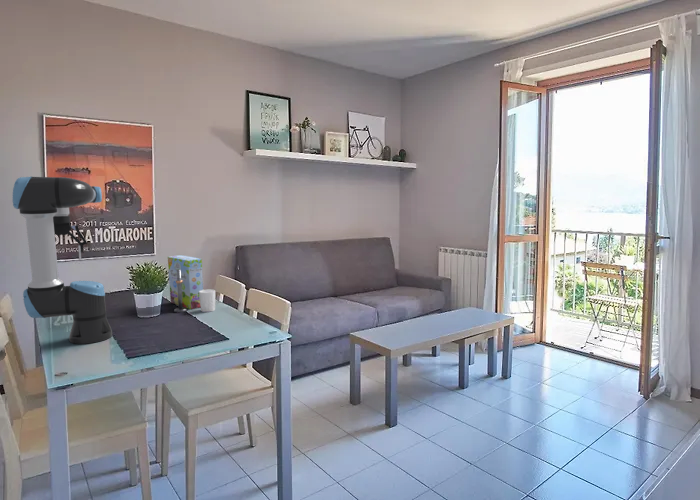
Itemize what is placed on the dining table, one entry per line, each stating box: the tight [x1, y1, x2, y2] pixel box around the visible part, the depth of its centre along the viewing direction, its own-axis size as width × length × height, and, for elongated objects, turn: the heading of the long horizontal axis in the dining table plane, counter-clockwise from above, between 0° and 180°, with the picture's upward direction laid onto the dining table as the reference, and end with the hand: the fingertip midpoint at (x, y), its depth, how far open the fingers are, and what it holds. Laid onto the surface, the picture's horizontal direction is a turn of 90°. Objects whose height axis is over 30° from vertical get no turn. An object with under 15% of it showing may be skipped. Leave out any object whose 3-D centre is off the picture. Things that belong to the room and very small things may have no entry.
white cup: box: [199, 289, 216, 313], centre depth 228 cm, size 8×8×10 cm
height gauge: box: [174, 270, 188, 313], centre depth 226 cm, size 6×6×21 cm
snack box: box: [167, 254, 204, 310], centre depth 238 cm, size 22×9×26 cm, turn 49°
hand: (63, 260), depth 216 cm, fingers open, 13 cm apart
